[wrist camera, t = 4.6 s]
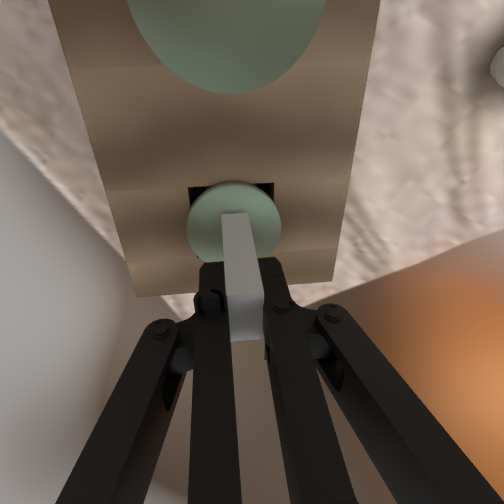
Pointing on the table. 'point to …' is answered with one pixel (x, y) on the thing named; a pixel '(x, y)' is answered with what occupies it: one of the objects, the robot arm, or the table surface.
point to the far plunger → (231, 202)
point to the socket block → (218, 138)
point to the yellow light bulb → (498, 67)
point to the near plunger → (228, 38)
